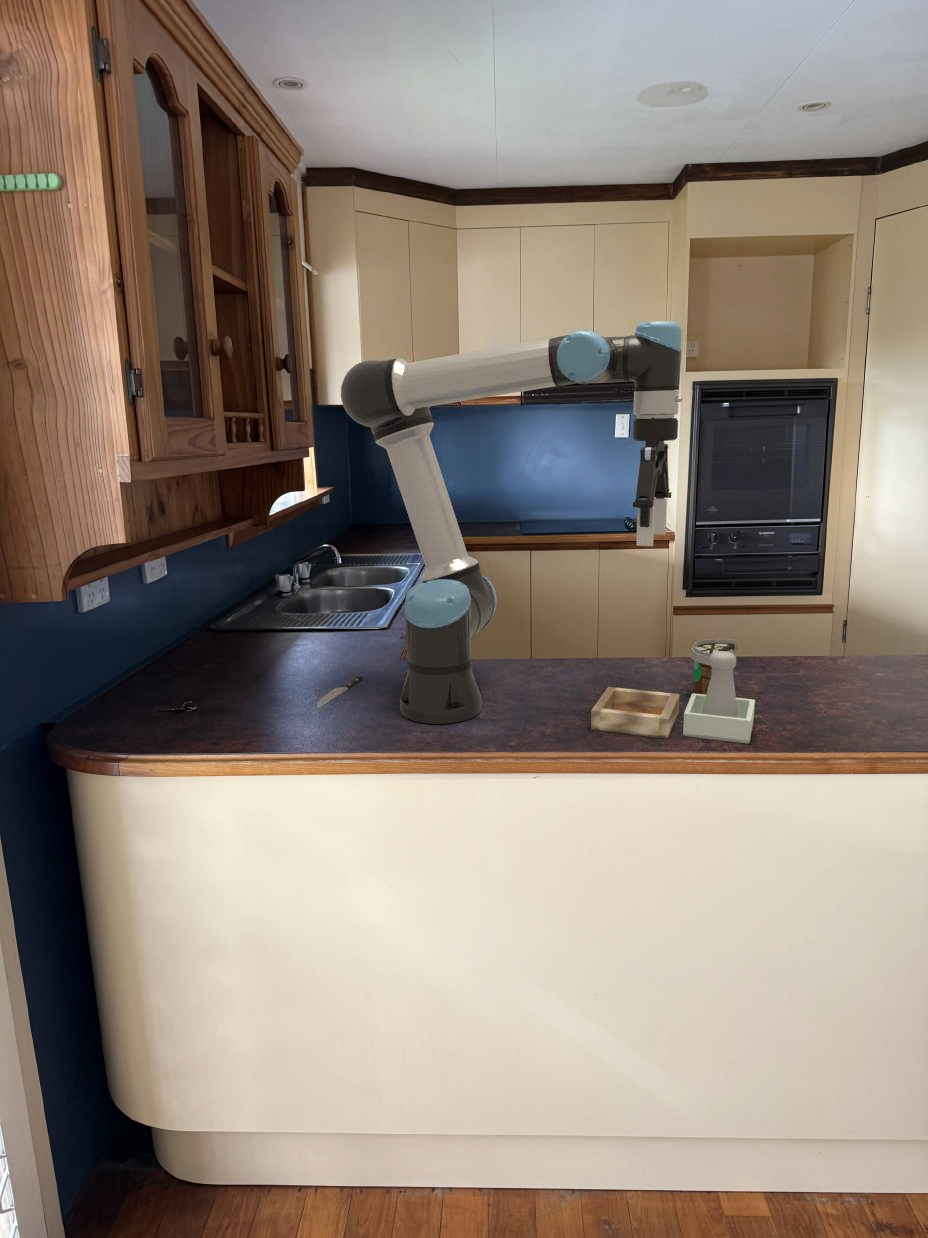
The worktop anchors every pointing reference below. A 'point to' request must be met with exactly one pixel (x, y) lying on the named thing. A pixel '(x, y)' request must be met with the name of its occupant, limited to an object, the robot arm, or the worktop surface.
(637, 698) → the beige square tray
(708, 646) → the food container
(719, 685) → the salt shaker
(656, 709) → the plate
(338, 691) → the chef's knife
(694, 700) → the bin
